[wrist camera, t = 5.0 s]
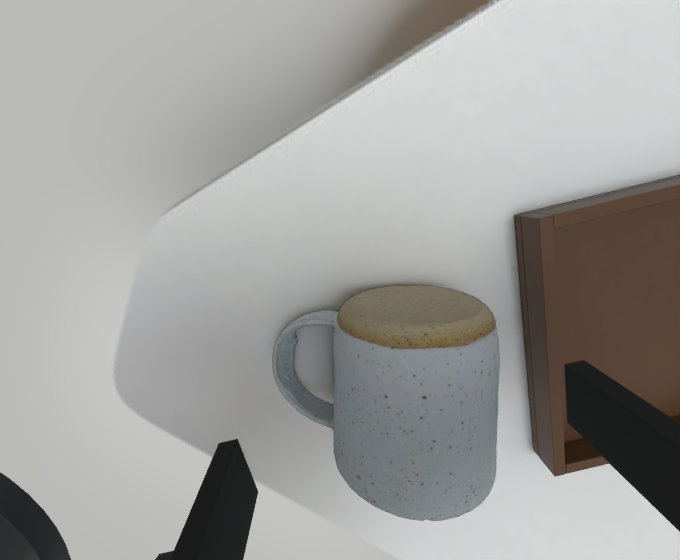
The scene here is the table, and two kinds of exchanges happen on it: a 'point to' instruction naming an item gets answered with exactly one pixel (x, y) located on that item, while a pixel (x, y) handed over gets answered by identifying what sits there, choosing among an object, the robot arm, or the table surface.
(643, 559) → the table surface
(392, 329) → the ceramic mug
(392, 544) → the table surface
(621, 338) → the brown tray
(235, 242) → the table surface
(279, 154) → the table surface
